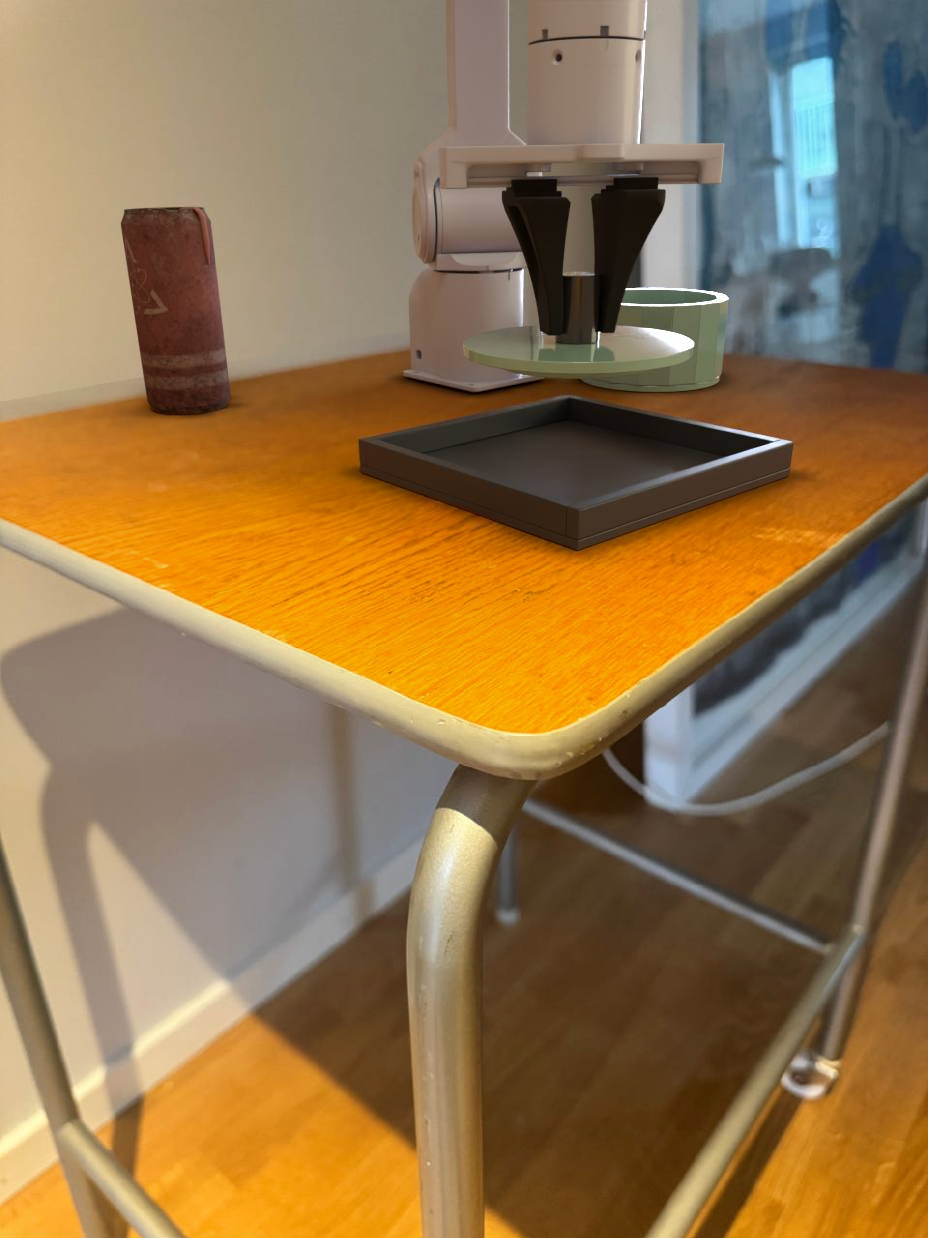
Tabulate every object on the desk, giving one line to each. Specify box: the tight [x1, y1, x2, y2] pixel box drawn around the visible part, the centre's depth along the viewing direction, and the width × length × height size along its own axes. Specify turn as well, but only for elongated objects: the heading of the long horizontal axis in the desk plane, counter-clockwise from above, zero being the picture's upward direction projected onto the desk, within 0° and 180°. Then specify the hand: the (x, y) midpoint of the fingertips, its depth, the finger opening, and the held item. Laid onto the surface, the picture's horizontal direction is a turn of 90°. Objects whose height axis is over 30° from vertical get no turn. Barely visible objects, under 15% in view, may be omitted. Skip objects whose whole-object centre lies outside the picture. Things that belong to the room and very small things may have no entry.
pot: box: [579, 287, 730, 393], centre depth 81 cm, size 12×12×6 cm
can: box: [120, 206, 232, 416], centre depth 71 cm, size 6×6×14 cm
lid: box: [462, 271, 694, 380], centre depth 53 cm, size 13×13×5 cm
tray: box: [357, 393, 794, 551], centre depth 56 cm, size 18×18×2 cm
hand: (576, 331), depth 54 cm, fingers closed on lid, 2 cm apart
